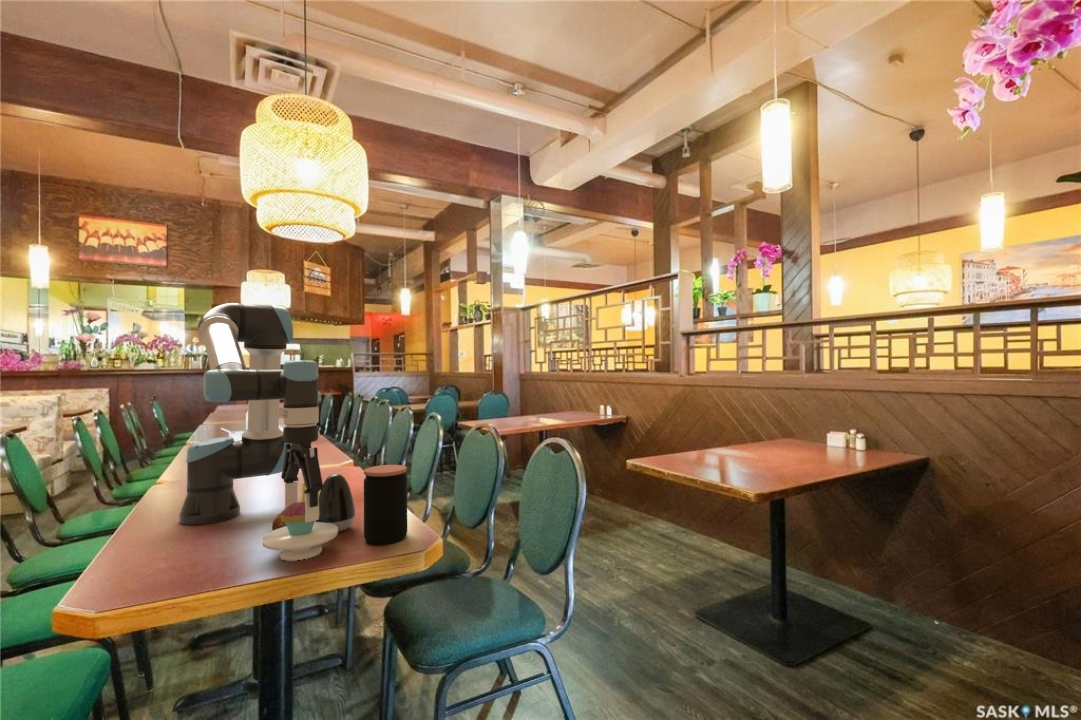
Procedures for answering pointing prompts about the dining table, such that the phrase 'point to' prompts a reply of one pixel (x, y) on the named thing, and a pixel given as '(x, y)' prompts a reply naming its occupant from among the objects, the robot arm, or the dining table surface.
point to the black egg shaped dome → (336, 502)
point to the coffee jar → (385, 504)
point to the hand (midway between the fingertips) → (301, 514)
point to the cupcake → (297, 517)
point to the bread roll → (278, 523)
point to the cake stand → (300, 541)
